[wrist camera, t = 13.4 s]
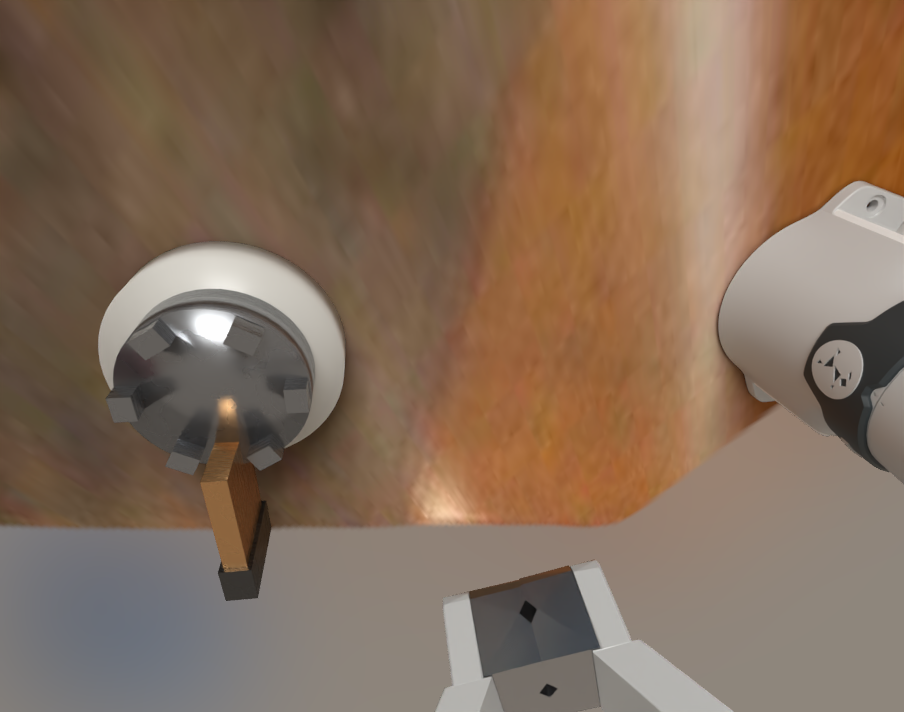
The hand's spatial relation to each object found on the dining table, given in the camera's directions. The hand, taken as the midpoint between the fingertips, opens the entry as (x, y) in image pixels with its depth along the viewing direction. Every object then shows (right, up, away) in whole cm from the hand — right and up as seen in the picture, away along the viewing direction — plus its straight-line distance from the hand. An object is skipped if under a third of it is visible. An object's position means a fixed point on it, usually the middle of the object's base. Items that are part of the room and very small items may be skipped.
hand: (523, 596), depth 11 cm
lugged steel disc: (-17, 0, +30) cm, 35 cm away
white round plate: (-17, +5, +31) cm, 36 cm away
